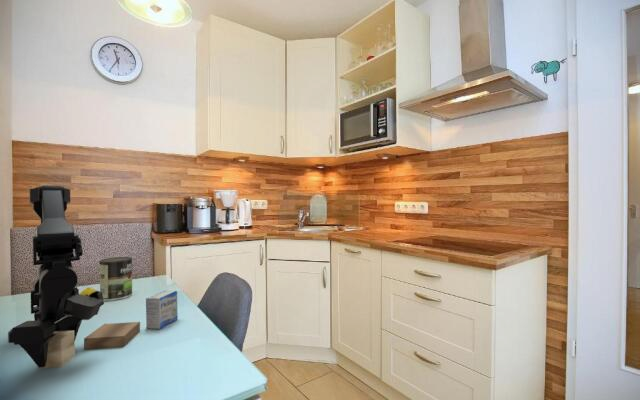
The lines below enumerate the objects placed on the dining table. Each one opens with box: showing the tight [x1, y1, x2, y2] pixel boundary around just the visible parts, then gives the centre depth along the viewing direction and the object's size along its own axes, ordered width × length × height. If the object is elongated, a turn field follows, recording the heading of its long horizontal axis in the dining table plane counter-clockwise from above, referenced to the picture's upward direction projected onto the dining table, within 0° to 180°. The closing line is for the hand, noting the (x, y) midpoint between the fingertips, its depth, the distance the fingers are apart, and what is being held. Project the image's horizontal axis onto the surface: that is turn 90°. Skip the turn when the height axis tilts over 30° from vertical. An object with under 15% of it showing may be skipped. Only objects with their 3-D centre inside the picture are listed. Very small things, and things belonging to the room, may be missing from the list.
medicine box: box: [145, 289, 178, 330], centre depth 91 cm, size 8×4×9 cm, turn 168°
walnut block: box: [83, 321, 141, 350], centre depth 80 cm, size 9×9×3 cm
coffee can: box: [98, 256, 133, 302], centre depth 116 cm, size 10×10×14 cm
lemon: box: [79, 287, 97, 296], centre depth 100 cm, size 6×6×8 cm
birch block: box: [37, 330, 76, 369], centre depth 69 cm, size 4×4×6 cm
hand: (57, 356), depth 69 cm, fingers open, 9 cm apart
